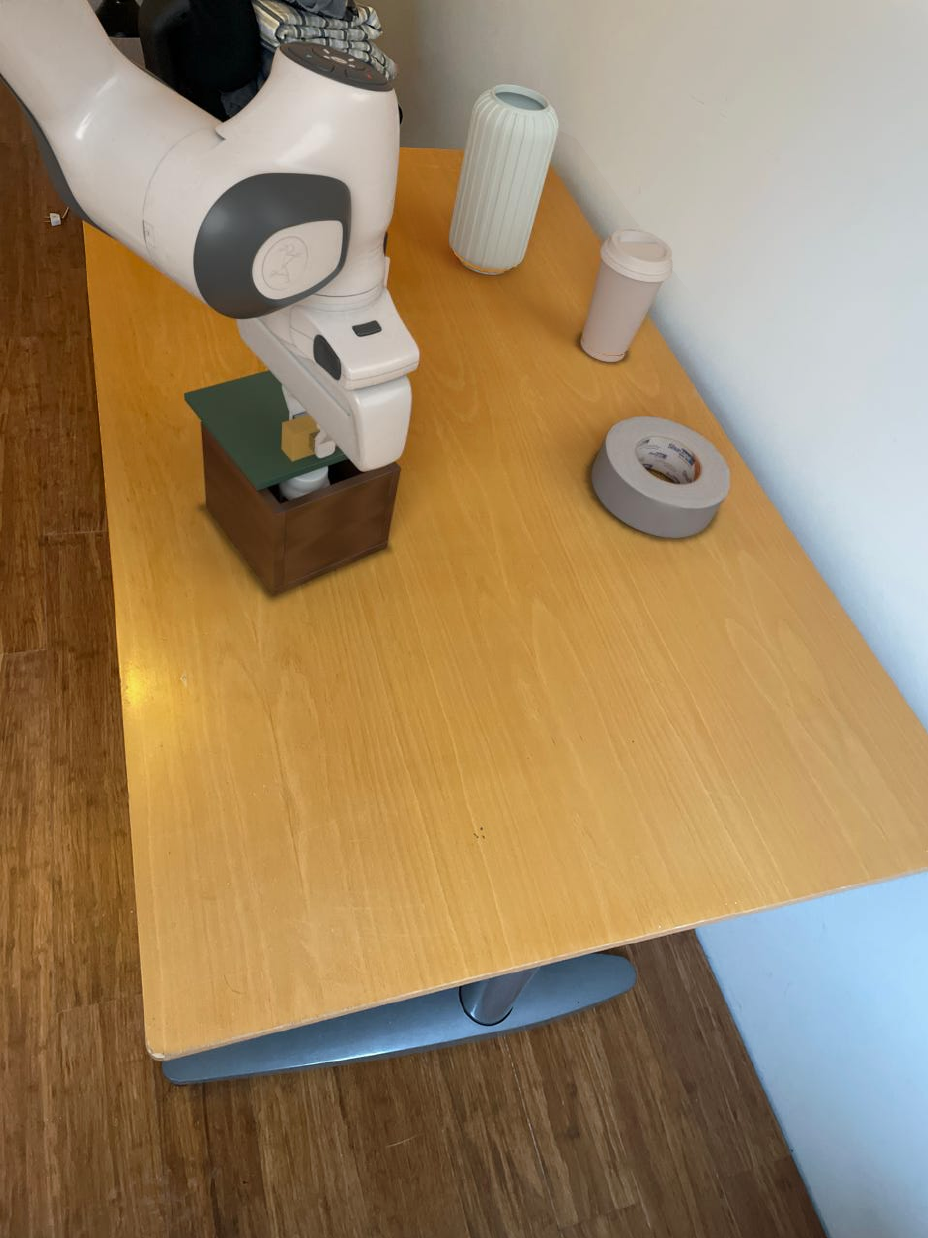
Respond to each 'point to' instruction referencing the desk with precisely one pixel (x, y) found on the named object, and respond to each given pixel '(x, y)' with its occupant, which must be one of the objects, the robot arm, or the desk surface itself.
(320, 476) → the pill bottle
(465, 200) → the vase
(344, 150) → the robot arm
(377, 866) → the desk surface
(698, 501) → the tape roll
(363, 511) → the box
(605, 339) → the coffee cup
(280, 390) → the lid
